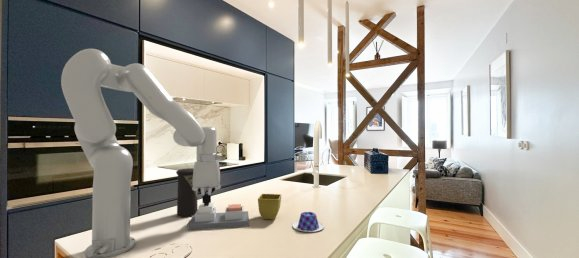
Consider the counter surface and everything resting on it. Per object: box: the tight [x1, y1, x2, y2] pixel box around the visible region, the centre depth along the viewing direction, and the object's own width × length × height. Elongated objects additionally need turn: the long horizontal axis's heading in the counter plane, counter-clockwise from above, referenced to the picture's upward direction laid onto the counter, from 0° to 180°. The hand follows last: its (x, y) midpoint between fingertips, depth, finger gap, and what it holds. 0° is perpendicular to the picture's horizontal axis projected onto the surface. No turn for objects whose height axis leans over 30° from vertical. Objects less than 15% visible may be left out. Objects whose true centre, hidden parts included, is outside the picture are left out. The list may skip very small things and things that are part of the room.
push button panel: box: [187, 205, 250, 231], centre depth 99 cm, size 12×22×5 cm, turn 101°
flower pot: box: [257, 193, 282, 220], centre depth 105 cm, size 9×9×9 cm
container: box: [175, 167, 199, 218], centre depth 109 cm, size 9×9×20 cm
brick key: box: [227, 203, 242, 212], centre depth 100 cm, size 5×5×3 cm
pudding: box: [292, 211, 325, 233], centre depth 95 cm, size 12×12×5 cm
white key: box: [198, 202, 214, 213], centre depth 98 cm, size 5×5×3 cm
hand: (206, 204), depth 98 cm, fingers closed
